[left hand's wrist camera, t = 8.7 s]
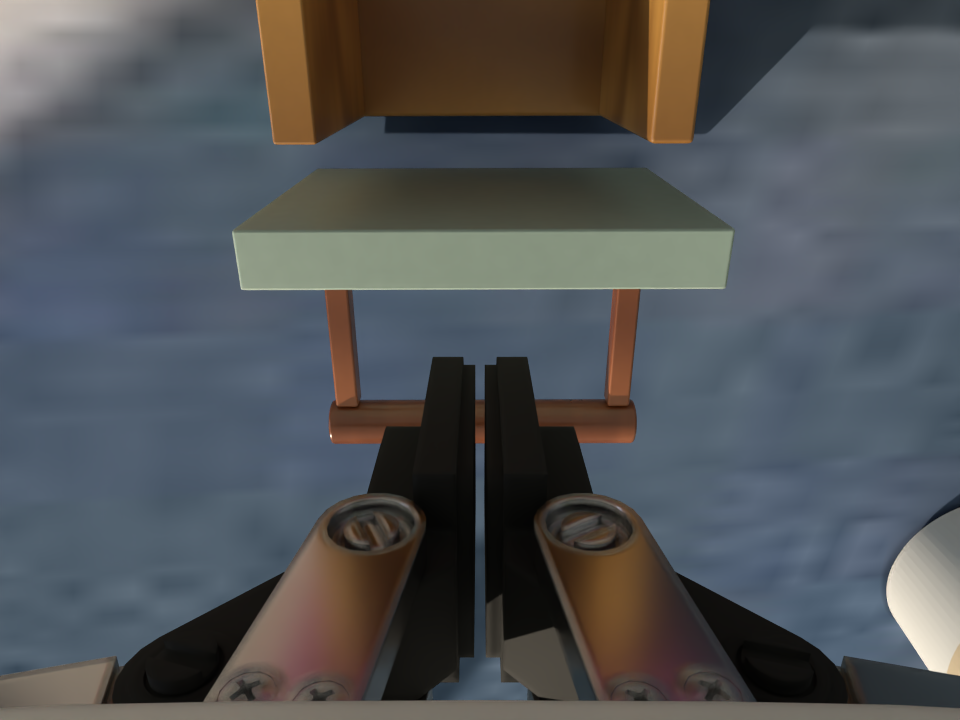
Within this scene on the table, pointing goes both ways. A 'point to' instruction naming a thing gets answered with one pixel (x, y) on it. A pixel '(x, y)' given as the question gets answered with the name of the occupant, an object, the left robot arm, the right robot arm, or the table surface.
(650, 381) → the table surface
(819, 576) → the table surface
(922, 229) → the table surface
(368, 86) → the drawer
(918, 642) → the coffee cup
